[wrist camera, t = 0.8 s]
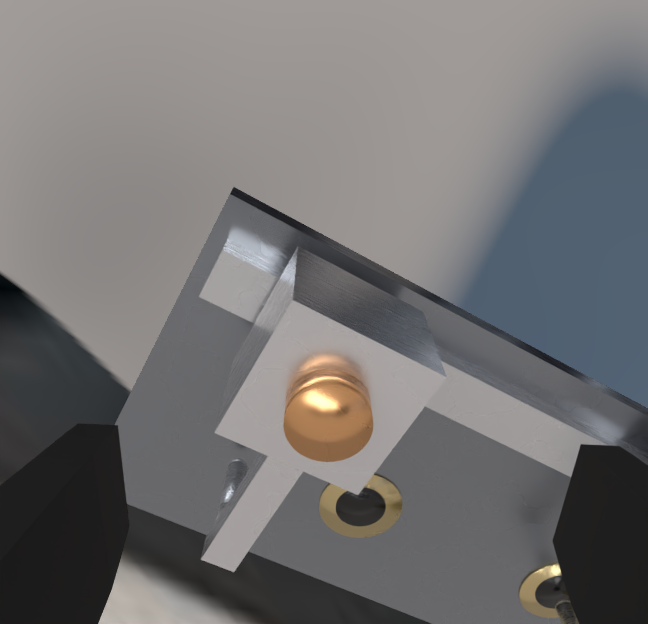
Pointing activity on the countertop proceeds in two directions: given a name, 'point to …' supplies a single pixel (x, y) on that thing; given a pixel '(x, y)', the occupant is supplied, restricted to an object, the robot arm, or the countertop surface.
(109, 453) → the robot arm
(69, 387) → the countertop surface
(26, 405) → the countertop surface
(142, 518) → the countertop surface
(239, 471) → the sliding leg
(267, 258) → the aluminium mounting plate
